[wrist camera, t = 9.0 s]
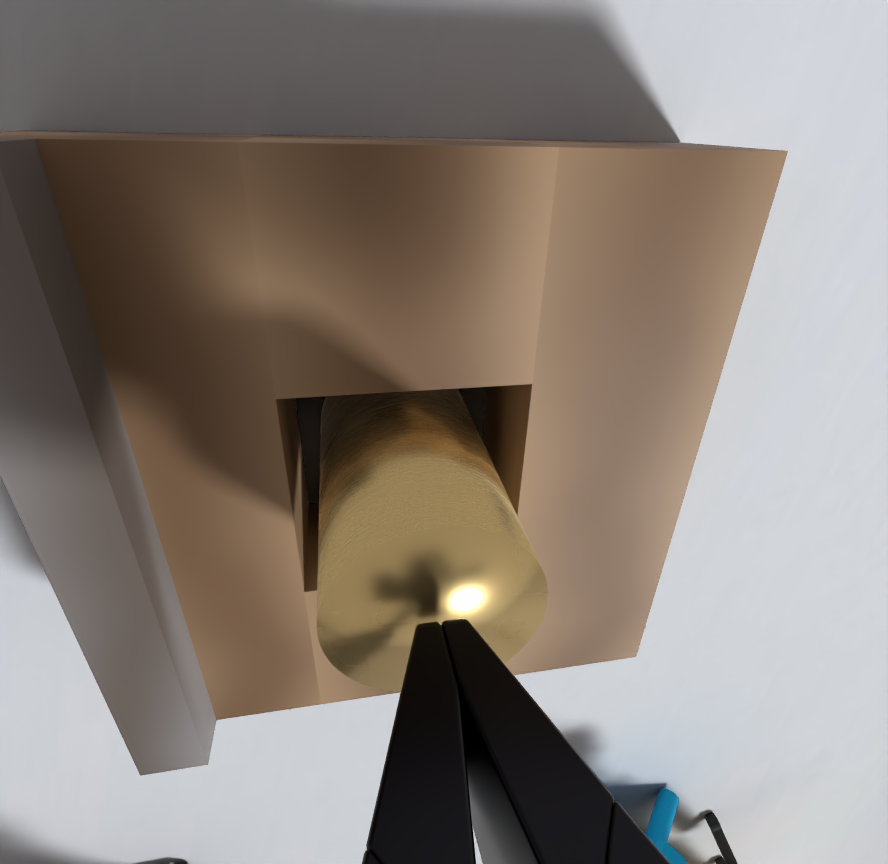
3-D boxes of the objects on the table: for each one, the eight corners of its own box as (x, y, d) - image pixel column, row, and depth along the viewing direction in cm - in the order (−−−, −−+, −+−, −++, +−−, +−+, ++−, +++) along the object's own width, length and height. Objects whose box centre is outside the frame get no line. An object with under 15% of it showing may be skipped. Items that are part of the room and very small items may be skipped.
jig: (183, 625, 18) (140, 775, 14) (26, 130, 11) (-158, 140, 7) (590, 575, 20) (655, 691, 16) (682, 142, 13) (840, 155, 9)
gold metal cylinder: (327, 484, 16) (327, 706, 10) (314, 357, 14) (304, 541, 8) (460, 472, 17) (534, 674, 11) (467, 350, 15) (562, 515, 9)
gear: (555, 800, 25) (797, 981, 20) (604, 695, 29) (815, 828, 24) (520, 872, 31) (697, 1019, 27) (564, 779, 35) (724, 894, 31)
